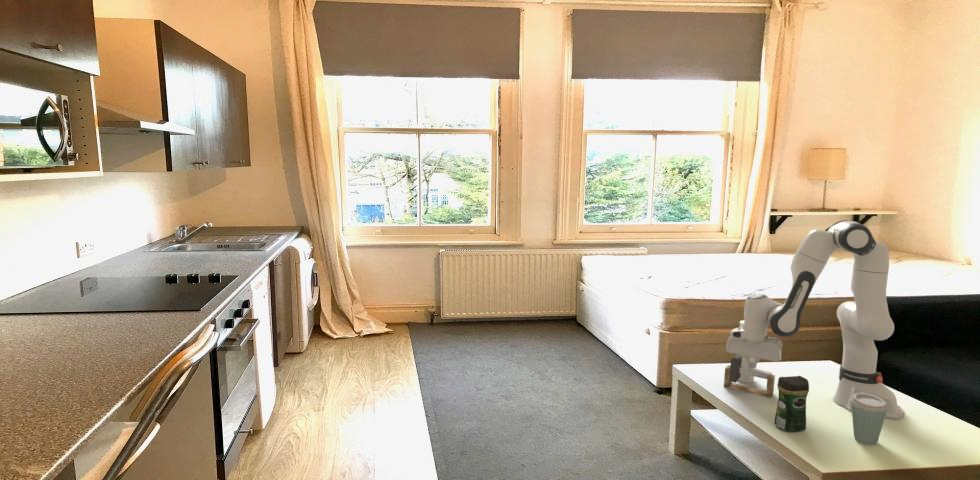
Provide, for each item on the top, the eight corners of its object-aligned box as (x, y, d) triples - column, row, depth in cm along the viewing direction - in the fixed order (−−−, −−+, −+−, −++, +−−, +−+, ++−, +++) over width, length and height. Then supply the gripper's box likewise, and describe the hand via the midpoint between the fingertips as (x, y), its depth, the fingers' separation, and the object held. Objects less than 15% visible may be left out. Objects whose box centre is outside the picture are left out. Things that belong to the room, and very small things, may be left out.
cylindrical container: (755, 383, 240) (760, 325, 236) (737, 381, 241) (742, 324, 238) (751, 376, 247) (756, 320, 243) (733, 375, 248) (738, 319, 245)
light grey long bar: (771, 378, 228) (772, 371, 227) (770, 380, 225) (770, 373, 225) (729, 369, 237) (730, 362, 236) (727, 371, 235) (728, 364, 234)
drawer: (773, 394, 228) (774, 375, 227) (771, 397, 225) (773, 378, 224) (726, 383, 239) (727, 365, 238) (723, 386, 236) (725, 367, 234)
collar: (740, 376, 237) (742, 356, 236) (735, 382, 231) (737, 361, 229) (734, 375, 239) (735, 354, 237) (729, 381, 232) (730, 360, 231)
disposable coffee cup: (891, 446, 188) (897, 403, 186) (866, 450, 185) (871, 406, 183) (862, 431, 198) (867, 390, 196) (838, 435, 195) (842, 393, 193)
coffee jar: (793, 421, 205) (798, 372, 202) (809, 431, 197) (814, 380, 194) (769, 423, 203) (774, 373, 201) (784, 433, 195) (789, 382, 193)
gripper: (784, 337, 225) (781, 370, 227) (730, 327, 237) (728, 359, 239) (781, 341, 220) (779, 375, 222) (726, 331, 232) (724, 364, 234)
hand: (752, 367), depth 230 cm, fingers closed
